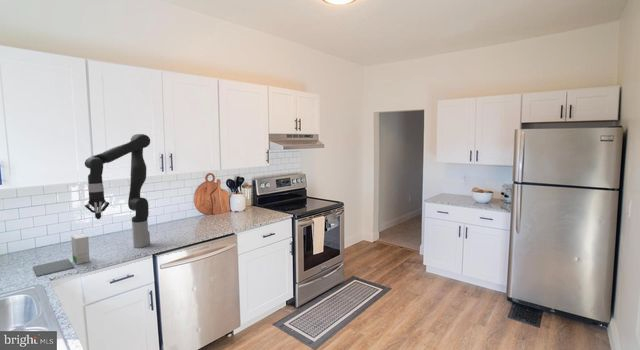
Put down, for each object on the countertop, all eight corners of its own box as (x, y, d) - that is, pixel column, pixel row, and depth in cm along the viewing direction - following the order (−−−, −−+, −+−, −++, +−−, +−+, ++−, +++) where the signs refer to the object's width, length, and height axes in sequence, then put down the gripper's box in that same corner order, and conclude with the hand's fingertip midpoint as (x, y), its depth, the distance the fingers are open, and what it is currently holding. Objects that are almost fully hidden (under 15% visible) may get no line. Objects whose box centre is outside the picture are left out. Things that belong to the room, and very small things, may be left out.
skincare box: (72, 261, 192) (70, 235, 190) (85, 258, 197) (83, 233, 196) (77, 264, 187) (75, 238, 185) (90, 261, 192) (88, 235, 190)
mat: (68, 259, 195) (68, 258, 195) (74, 267, 183) (74, 266, 182) (33, 267, 183) (32, 266, 183) (37, 276, 171) (37, 275, 171)
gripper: (107, 188, 202) (109, 215, 204) (81, 191, 192) (83, 219, 194) (110, 190, 197) (112, 217, 199) (84, 192, 187) (86, 222, 189)
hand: (98, 218), depth 197 cm, fingers closed
